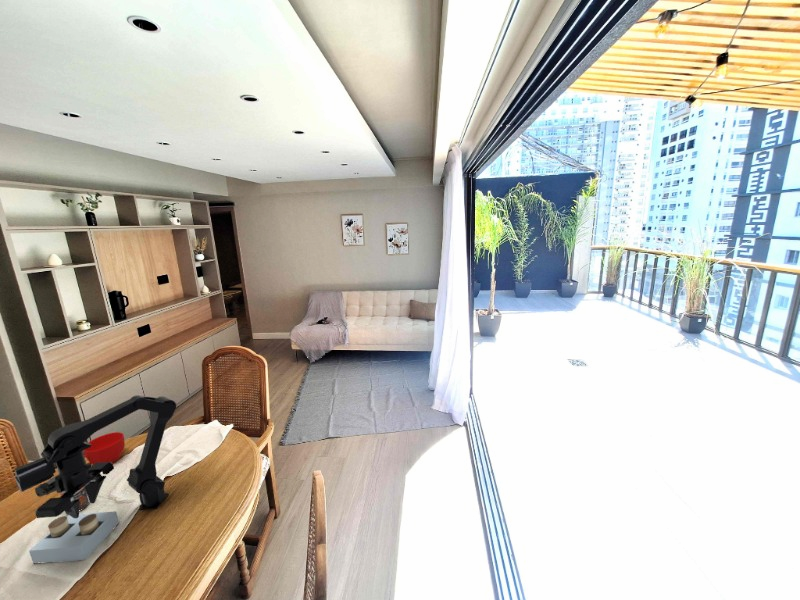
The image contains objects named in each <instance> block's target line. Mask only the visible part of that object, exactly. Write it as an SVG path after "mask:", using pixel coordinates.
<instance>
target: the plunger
mask: <svg viewBox="0 0 800 600" xmlns="http://www.w3.org/2000/svg"><path fill="white" fill-rule="evenodd" d="M67 517H68V516H66V515H63V516H60V517H57V518H55V519H54V520H52V521H51V522H50V523H49V524H48V525H47V527H48V530H49V533H50V534H51V537H52V538H59V537H61V536H63V535H64V534H65V533H66V532H67V531H68V530H69V529H70V526H69V522H68V519H67Z"/></svg>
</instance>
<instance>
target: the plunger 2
mask: <svg viewBox="0 0 800 600" xmlns="http://www.w3.org/2000/svg"><path fill="white" fill-rule="evenodd" d="M78 524H79V528H80V531H81V534H82V536H86V535H90V534H92V533H93V532H94V531H95V530H96V529H97V528H98V527H99V523H98V519H97V516H96V514H90V515H88V516H86V517H84V518H83V519H81V520H80V521H79V523H78Z"/></svg>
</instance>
